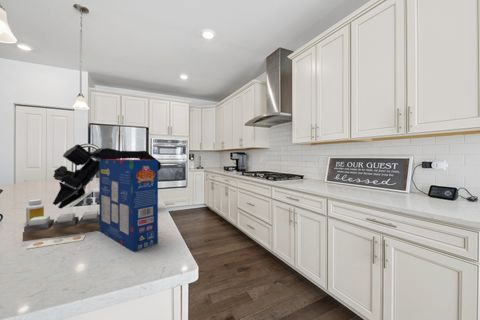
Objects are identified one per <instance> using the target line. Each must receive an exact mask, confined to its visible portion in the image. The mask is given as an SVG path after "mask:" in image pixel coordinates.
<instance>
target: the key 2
mask: <svg viewBox="0 0 480 320" xmlns="http://www.w3.org/2000/svg"><path fill="white" fill-rule="evenodd" d="M98 214H99V210H96V211H94V210H93V211H84V212H83V214H82V217H83V220H84V219H93V218H98Z"/></svg>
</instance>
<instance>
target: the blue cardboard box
mask: <svg viewBox="0 0 480 320" xmlns="http://www.w3.org/2000/svg"><path fill="white" fill-rule="evenodd" d="M158 161H159V159H156V160H140V159H132V158H121V159H99V172H98V173H99V180H98V181H99V182H98V183H99V184H98V185H99V187H98V191H99V192H98V193H99V194H98V201H99V202H98V203H99V204H98V205H99V207H98V214H99V231H98V232H100V233H101V234H103V235H105V236H107V237H108V238H109V239H111V240H113V241H114V242H116V243H118V244H119V245H121V246H122V247H124V248H125V249H127V250H128V251H130V252H132V253H135V252H137V251H141V250H144V249H146V248H149V247H151V246H155V245H156V244H157V245H158V242H159V171H158Z"/></svg>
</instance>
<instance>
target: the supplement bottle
mask: <svg viewBox="0 0 480 320" xmlns="http://www.w3.org/2000/svg"><path fill="white" fill-rule="evenodd" d="M44 207H45V206H44V204H42V199H40V198H39V199H31V200H28V205H27V206H26V209H25V211H26V214H25V217H26V220H25V221H26V225H27V224H29V220H31V219H32V218H34V217H42V216H45V208H44Z"/></svg>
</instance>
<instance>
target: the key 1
mask: <svg viewBox="0 0 480 320" xmlns="http://www.w3.org/2000/svg"><path fill="white" fill-rule="evenodd" d="M50 220H51V215H44V216H42V217H34V218H32V219H31V220H29V226H31V225H40V224H47V223H48V222H50Z"/></svg>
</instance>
